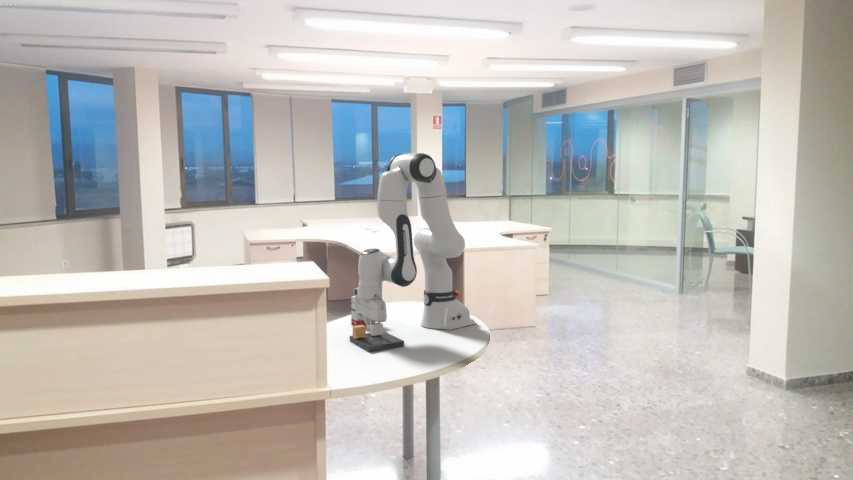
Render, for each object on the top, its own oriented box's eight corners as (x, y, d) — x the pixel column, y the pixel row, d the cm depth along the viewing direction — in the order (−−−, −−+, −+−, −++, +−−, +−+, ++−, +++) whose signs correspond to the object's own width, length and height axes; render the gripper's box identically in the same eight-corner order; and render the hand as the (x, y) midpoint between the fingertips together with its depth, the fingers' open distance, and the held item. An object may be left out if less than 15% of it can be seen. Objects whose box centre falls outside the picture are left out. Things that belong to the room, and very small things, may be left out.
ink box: (356, 327, 258) (356, 298, 257) (351, 324, 263) (350, 296, 261) (375, 324, 263) (375, 295, 262) (369, 321, 267) (369, 293, 266)
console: (383, 336, 245) (383, 330, 245) (404, 346, 232) (404, 340, 231) (349, 341, 238) (349, 335, 238) (368, 352, 225) (368, 346, 224)
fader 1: (362, 335, 238) (362, 324, 237) (365, 337, 235) (365, 326, 235) (352, 337, 236) (352, 325, 235) (355, 338, 233) (355, 327, 233)
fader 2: (379, 332, 241) (379, 322, 241) (382, 334, 239) (382, 323, 239) (370, 334, 239) (370, 323, 239) (373, 335, 237) (373, 325, 237)
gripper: (390, 296, 234) (390, 334, 236) (366, 287, 252) (366, 322, 253) (375, 298, 231) (375, 336, 233) (351, 288, 248) (351, 324, 250)
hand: (370, 328), depth 243 cm, fingers closed
